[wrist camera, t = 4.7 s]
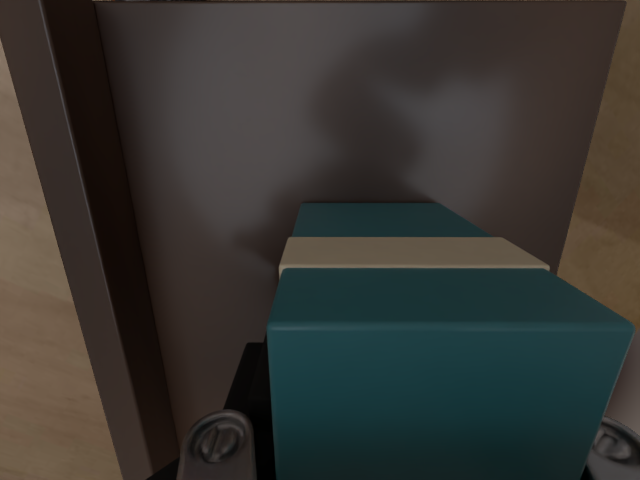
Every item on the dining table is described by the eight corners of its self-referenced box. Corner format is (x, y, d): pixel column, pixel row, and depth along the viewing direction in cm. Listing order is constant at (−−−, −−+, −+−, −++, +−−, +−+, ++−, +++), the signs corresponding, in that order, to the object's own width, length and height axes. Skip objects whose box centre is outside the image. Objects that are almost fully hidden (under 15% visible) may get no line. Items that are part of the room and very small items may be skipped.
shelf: (469, 67, 18) (713, -37, 7) (431, 358, 25) (525, 550, 13) (189, 67, 18) (-23, -36, 7) (223, 357, 25) (141, 549, 13)
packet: (442, 200, 10) (648, 321, 4) (417, 403, 13) (512, 676, 7) (298, 200, 11) (260, 321, 4) (303, 402, 13) (285, 674, 7)
